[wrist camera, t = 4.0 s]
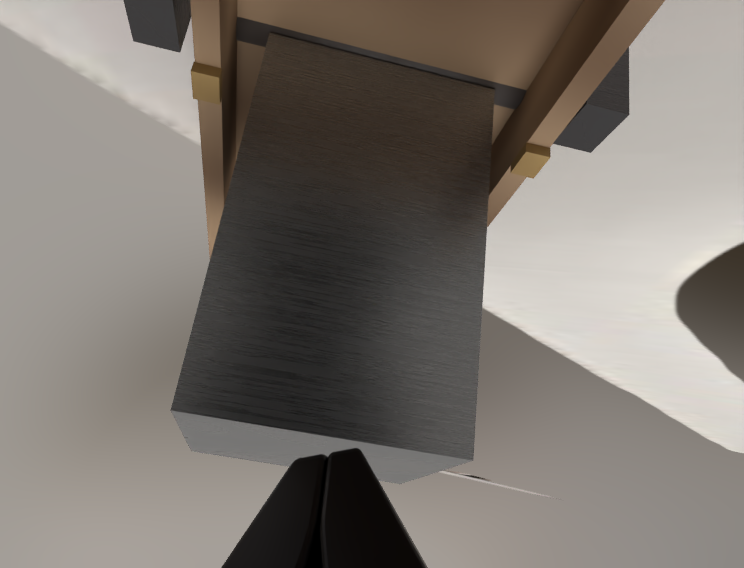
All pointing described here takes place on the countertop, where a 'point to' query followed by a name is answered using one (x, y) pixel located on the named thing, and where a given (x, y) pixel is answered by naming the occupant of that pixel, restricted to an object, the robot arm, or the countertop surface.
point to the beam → (419, 65)
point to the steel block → (346, 270)
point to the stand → (584, 132)
